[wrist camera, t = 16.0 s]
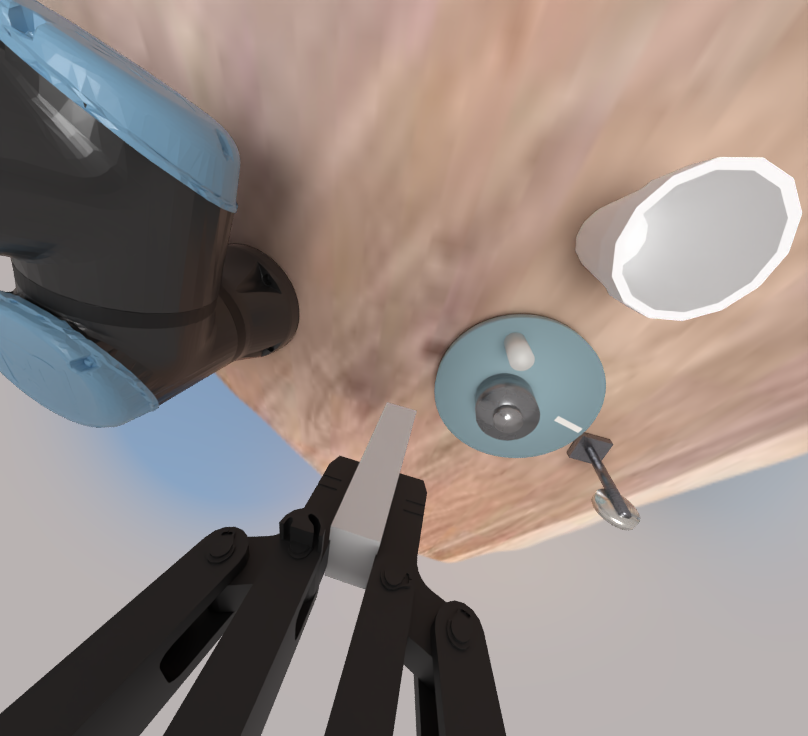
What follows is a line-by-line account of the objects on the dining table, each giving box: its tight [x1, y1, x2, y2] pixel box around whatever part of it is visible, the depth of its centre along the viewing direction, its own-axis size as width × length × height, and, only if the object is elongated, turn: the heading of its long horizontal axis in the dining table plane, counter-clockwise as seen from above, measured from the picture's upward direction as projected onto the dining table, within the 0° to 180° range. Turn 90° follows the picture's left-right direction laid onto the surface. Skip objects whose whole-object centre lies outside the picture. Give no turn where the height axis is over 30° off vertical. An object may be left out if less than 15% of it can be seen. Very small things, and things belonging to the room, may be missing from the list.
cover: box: [475, 373, 540, 441], centre depth 34 cm, size 7×7×5 cm
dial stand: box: [567, 432, 640, 530], centre depth 35 cm, size 4×4×12 cm
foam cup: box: [575, 157, 802, 321], centre depth 24 cm, size 10×9×13 cm
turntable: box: [435, 314, 606, 458], centre depth 35 cm, size 20×20×7 cm
